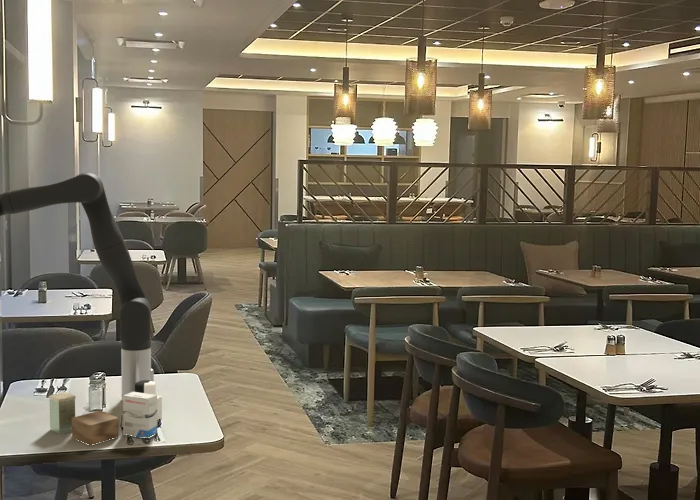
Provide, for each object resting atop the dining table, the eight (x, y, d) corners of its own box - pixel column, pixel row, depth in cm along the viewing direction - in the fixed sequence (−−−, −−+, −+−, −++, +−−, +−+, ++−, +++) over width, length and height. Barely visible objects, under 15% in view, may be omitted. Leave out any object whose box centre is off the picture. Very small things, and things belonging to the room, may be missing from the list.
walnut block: (100, 430, 228) (100, 410, 227) (118, 438, 222) (118, 417, 221) (72, 438, 221) (71, 417, 220) (90, 446, 215) (89, 425, 215)
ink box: (158, 434, 226) (158, 394, 224) (148, 440, 221) (148, 399, 220) (132, 430, 228) (132, 390, 227) (122, 435, 224) (122, 395, 222)
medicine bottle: (128, 422, 234) (127, 383, 233) (142, 415, 241) (142, 377, 240) (148, 426, 232) (148, 386, 231) (162, 418, 239) (162, 380, 237)
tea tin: (66, 425, 231) (65, 392, 229) (75, 430, 227) (75, 395, 226) (49, 430, 227) (48, 395, 225) (59, 434, 223) (58, 399, 222)
